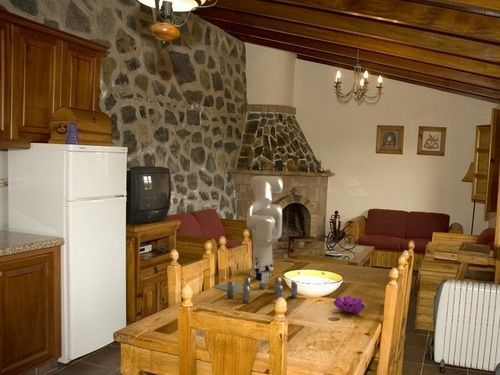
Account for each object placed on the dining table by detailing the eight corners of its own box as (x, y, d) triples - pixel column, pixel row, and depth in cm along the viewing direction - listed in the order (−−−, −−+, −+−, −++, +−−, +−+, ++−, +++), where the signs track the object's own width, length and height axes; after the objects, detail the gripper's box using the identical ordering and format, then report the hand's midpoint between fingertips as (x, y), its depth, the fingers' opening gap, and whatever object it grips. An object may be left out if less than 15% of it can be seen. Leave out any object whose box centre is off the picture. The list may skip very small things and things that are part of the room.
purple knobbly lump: (344, 323, 205) (332, 305, 206) (345, 312, 220) (334, 296, 221) (366, 310, 203) (353, 292, 204) (366, 300, 217) (353, 283, 218)
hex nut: (254, 281, 230) (254, 271, 230) (261, 279, 234) (261, 269, 234) (263, 283, 226) (264, 273, 226) (271, 281, 230) (271, 271, 230)
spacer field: (261, 287, 248) (262, 272, 248) (298, 297, 232) (298, 281, 232) (225, 297, 228) (226, 281, 228) (262, 309, 212) (263, 292, 212)
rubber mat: (231, 282, 257) (232, 282, 257) (250, 287, 248) (250, 287, 247) (213, 287, 247) (213, 286, 247) (232, 292, 237) (232, 292, 237)
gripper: (269, 239, 238) (268, 274, 239) (246, 244, 225) (245, 280, 226) (280, 241, 232) (279, 277, 234) (257, 246, 220) (256, 284, 221)
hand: (262, 278), depth 230 cm, fingers closed on hex nut, 5 cm apart
